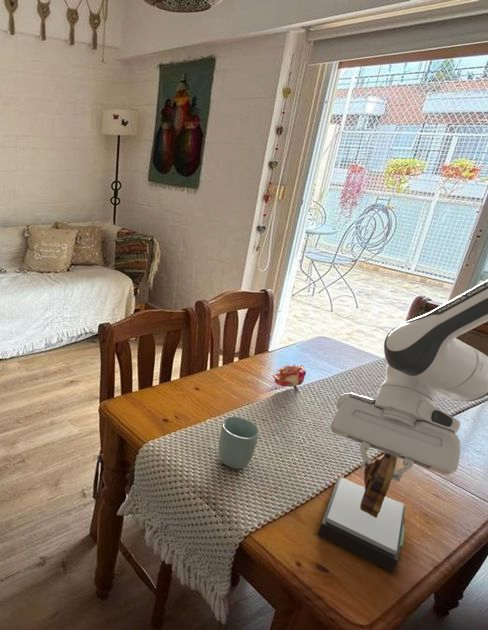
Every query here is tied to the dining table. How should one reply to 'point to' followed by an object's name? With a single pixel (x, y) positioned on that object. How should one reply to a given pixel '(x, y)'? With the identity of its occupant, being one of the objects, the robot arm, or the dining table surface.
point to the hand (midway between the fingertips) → (379, 473)
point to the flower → (290, 376)
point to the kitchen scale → (364, 525)
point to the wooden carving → (377, 483)
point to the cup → (237, 442)
